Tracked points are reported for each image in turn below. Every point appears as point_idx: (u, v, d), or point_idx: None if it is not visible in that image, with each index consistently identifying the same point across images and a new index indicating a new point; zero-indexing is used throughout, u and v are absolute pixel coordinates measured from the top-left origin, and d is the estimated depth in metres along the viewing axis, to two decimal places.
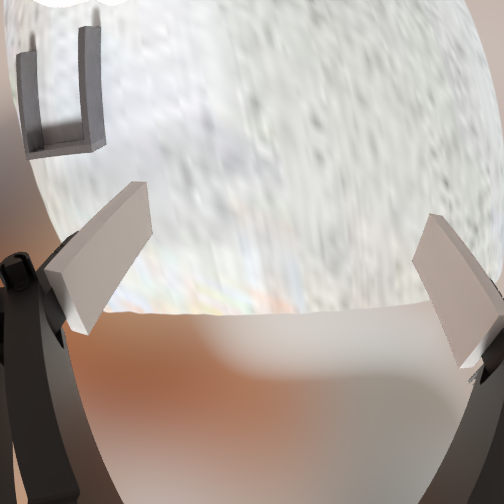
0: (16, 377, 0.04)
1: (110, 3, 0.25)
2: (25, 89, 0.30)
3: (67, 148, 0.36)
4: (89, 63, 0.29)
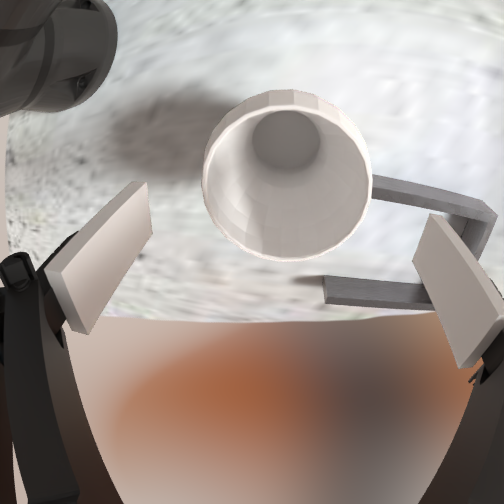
0: (16, 377, 0.04)
1: None
2: (377, 295, 0.35)
3: (478, 248, 0.28)
4: (406, 189, 0.27)
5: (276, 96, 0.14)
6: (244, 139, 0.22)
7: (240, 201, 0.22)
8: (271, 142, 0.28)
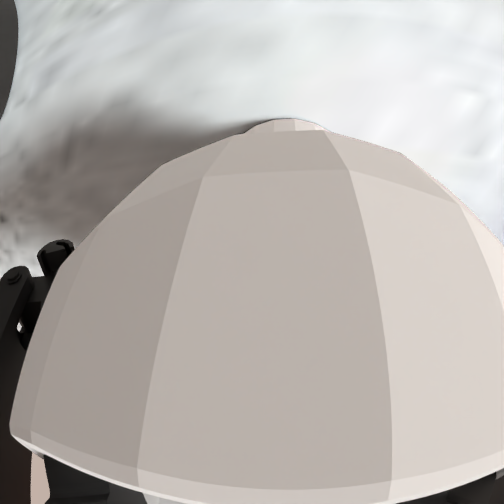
0: None
1: None
2: None
3: None
4: None
5: (235, 253, 0.02)
6: None
7: None
8: None
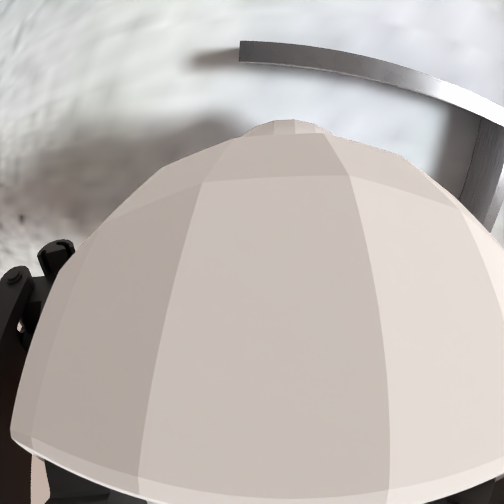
0: None
1: None
2: None
3: (500, 178, 0.14)
4: None
5: (234, 261, 0.02)
6: None
7: None
8: None
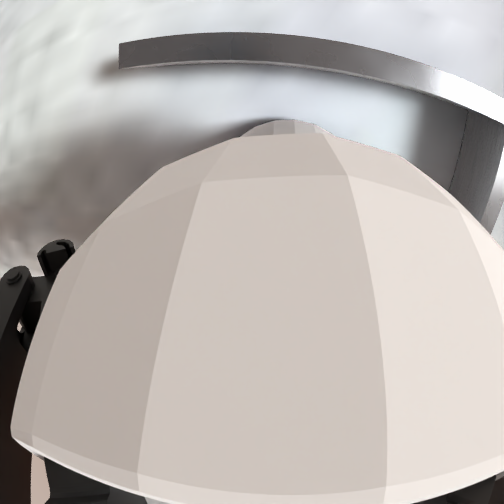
0: None
1: None
2: None
3: (493, 192, 0.11)
4: None
5: (233, 260, 0.02)
6: None
7: None
8: None
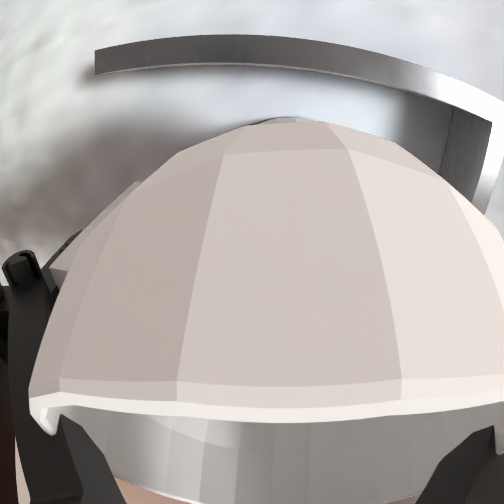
0: (20, 376, 0.04)
1: None
2: None
3: (477, 192, 0.11)
4: None
5: (257, 208, 0.02)
6: None
7: None
8: None
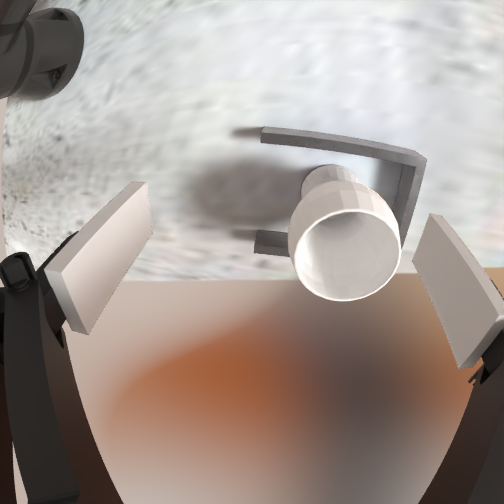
0: (16, 377, 0.04)
1: None
2: None
3: (410, 195, 0.31)
4: (315, 136, 0.30)
5: (346, 197, 0.23)
6: None
7: (305, 254, 0.31)
8: None
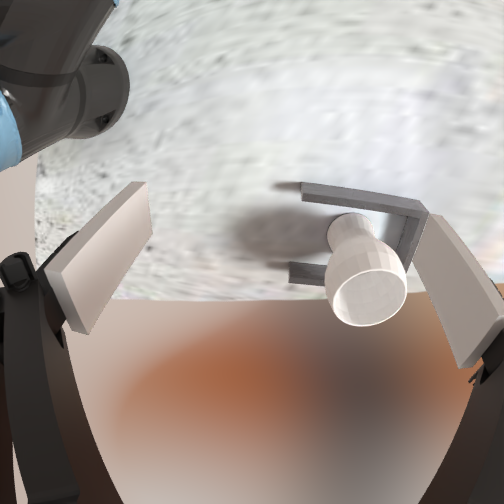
0: (16, 377, 0.04)
1: None
2: None
3: (414, 239, 0.40)
4: (344, 195, 0.39)
5: (372, 258, 0.31)
6: None
7: None
8: None
